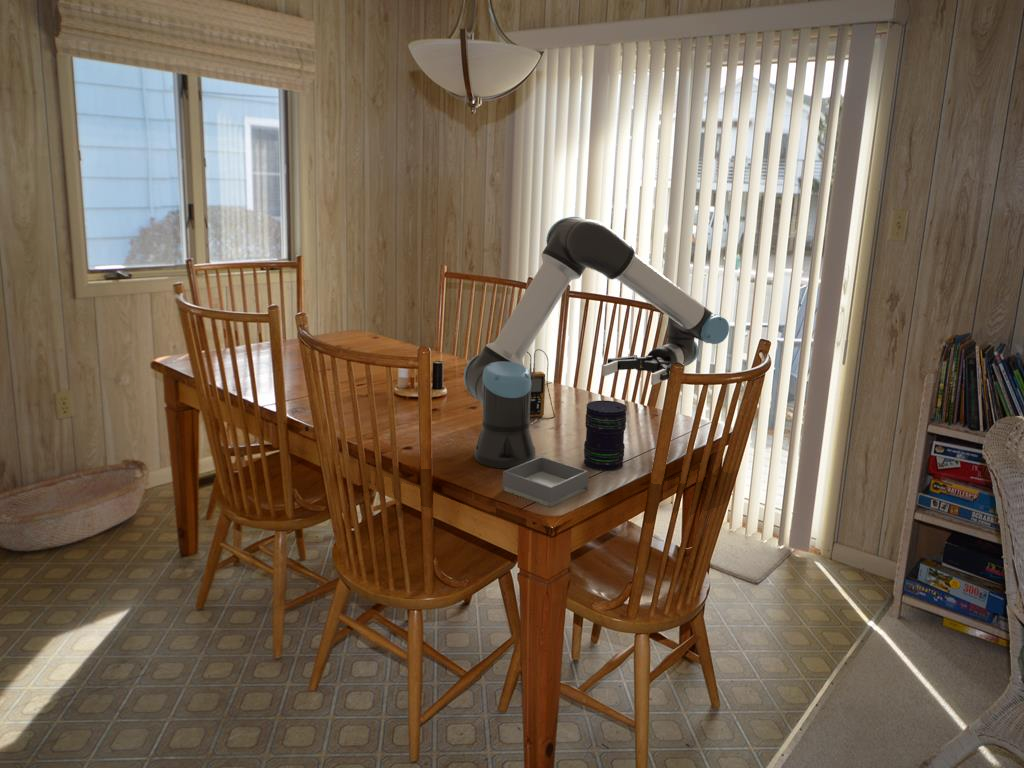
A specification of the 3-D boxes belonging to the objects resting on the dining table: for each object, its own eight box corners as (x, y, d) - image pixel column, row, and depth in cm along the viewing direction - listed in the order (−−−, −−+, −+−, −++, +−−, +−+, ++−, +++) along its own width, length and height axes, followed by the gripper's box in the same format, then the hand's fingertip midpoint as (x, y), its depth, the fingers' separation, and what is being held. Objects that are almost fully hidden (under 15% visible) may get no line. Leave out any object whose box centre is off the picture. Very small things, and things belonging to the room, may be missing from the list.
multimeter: (514, 426, 220) (516, 357, 215) (505, 416, 229) (507, 349, 224) (564, 423, 224) (567, 355, 219) (553, 413, 233) (555, 347, 228)
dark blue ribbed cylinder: (579, 468, 190) (582, 409, 186) (587, 455, 199) (590, 398, 195) (619, 473, 187) (623, 413, 183) (626, 460, 196) (630, 402, 192)
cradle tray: (502, 490, 175) (503, 471, 174) (540, 474, 185) (541, 456, 184) (550, 507, 167) (551, 487, 166) (587, 489, 177) (588, 471, 176)
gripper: (707, 380, 206) (672, 398, 189) (622, 366, 220) (584, 381, 203) (709, 353, 204) (675, 368, 187) (624, 340, 218) (585, 353, 201)
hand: (627, 375), depth 195 cm, fingers open, 13 cm apart
